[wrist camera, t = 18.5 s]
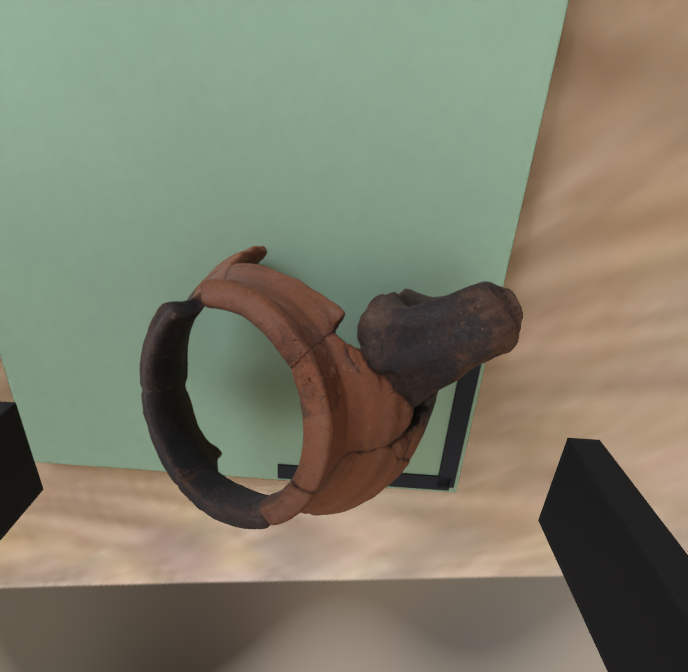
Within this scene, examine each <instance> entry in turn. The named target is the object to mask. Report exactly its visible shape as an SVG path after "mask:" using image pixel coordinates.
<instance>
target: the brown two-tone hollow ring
mask: <svg viewBox="0 0 688 672" xmlns="http://www.w3.org/2000/svg"><path fill="white" fill-rule="evenodd" d="M266 254H267V250H266V248H265V246H259V247H258V246H252V247H250V248H248V249H246V250H244V251H241V252H238V253H235V254H233V255H232V256H230V257H228V258H227V259H225V260H224V261H222V262H221V263H220V264H218V265H217V266H216V267H215V268H214V269H213V270H212V271H211V272H210V273H209V274H208V275H207V276H206V277H205V278H204V279H203V280H202V281H201V283H200V284H199V285H198V286H197V287H196V288H195V289H194V291H193V292H192V293H191V295H190V296H189V297H188V299H187V300H186V301H171V302H166V303H163V304H162V305H161V306H160V307H159V308H158V309H157V311H156V313H155V315H154V317H153V318H152V320H151V322H150V325H149V327H148V331H147V334H146V336H145V339H144V342H143V345H142V352H141V357H140V358H141V360H140V385H141V387H142V393H141V399H142V406H143V415H144V418H145V421H146V423H147V426H148V431H149V434H150V438H151V441H152V443H153V445H154V448H155V450H156V452H157V455H158V457H159V459H160V461H161V464H162V465H163V467H164V469H165V470H166V471H167V473H168V474H169V476H170V477H171V479H172V480H173V482H174V483H175V484H177V485H178V487H179V489H180V490H181V492H182V493H183V494H184V495H185V496H186V497H187V498H188V499H189V500H190V501H192V502H193V503H194V505H195V506H196V507H197V508H198V509H200V510H202V511H204V512H205V513H206V514H208V515H209V516H211V517H212V518H213V519H215V520H218V521H220V522H223V523H226V524H229V525H231V526H234V527H239V528H244V529H265V528H267V527H269V526H270V525H278V524H281V523H283V522H286V521H288V520H290V519H292V518H293V517H294V516H296V515H297V514H299V513H300V512H301V513H305V514H307V513H309V514H311V515H328V514H336V513H340V512H344V511H347V510H350V509H352V508H354V507H357V506H358V505H360V504H362V503H364V502H366V501H368V500H370V499H371V498H373V497H375V496H376V495H377V494H379V493H380V492H381V491H382V490H383V489H384V488H386V487H387V486H389V485H390V484H391V483H392V482H393V481H394V480H395V479H397V478H398V477H399V476H400V474H401V473H402V472H403V471H404V470H405V468H406V467H407V466H408V465H409V463H410V459H411V457H412V456H413V454H414V453H415V451H416V449H417V447H418V445H419V443H420V441H421V439H422V437H423V435H424V432H425V430H426V428H427V425H428V422H429V419H430V417H431V414H432V412H433V409H434V406H435V403H436V398H437V394H438V391H439V390H441V389H442V388H444V387H446V386H448V385H450V384H452V383H454V382H456V381H458V380H459V379H460V378H462V377H463V376H464V375H465V374H466V373H467V372H469V371H470V370H471V369H473V368H474V367H476V366H478V365H481V364H483V363H485V362H487V361H489V360H491V359H493V358H494V357H497V356H499V355H501V354H505V353H508V352H510V351H511V350H512V349H513V348H514V347H515V346H516V344H517V342H518V339H519V332H520V329H521V321H522V318H523V312H522V309H521V306H520V304H519V302H518V300H517V298H516V296H515V294H514V293H513V292H512V291H511V290H510V289H507V288H504V287H501V286H498V285H496V284H494V283H492V282H488V281H483V282H479V283H477V284H474V285H470V286H468V287H465V288H463V289H460V290H458V291H456V292H453V293H451V294H449V295H446V296H439V297H431V296H427V295H424V294H420V293H418V292H416V291H414V290H412V289H407V288H405V289H404V290H403V291H401V292H400V293H399V294H397V293H396V292H391V293H389V294H387V295H385V294H380V295H378V296H376V297H374V298H373V299H372V300H371V301H370V303H369V304H368V306H367V309H366V310H365V311H364V313H363V314H362V315H361V317H360V320H359V322H358V325H357V339H358V342H359V344H360V349H358V348H355V347H353V346H352V345H350V344H347V343H346V342H344V341H343V340H342V339H341V338H340V337H339V336H338V335H337V334H336V329H337V328H338V327H339V324H340V323H341V322H342V320H343V319H344V316H345V311H344V310H343V309H342V308H341V307H340V306H339V305H337V304H336V303H334V302H332V301H330V300H329V299H328V298H327V297H325V296H323V295H322V294H320V293H319V292H317V291H315V290H313V289H311V288H310V287H309V286H308V285H306V284H305V283H303V282H302V281H300V280H298V279H296V278H293V277H290V276H287V275H285V274H282V273H280V272H277V271H275V270H273V269H271V268H268V267H266V266H263V265H258V263H259V262H260V261H261V260H263V259H264V257H265V256H266ZM204 307H207V308H215V309H221V310H226V311H229V312H233V313H236V314H238V315H241V316H243V317H244V318H246V319H247V320H248V321H250V322H251V323H252V324H253V325H255V326H256V327H257V328H258V329H259V330H261V331H262V332H263V333H264V335H265V336H266V337H267V338H268V339H269V340H270V341H271V343H272V344H273V345H274V347H275V348H276V350H277V351H278V352H279V353H280V355H281V356H282V357H283V359H284V360H285V361H286V363H287V364H288V366H289V367H290V368H291V370H292V375H293V379H294V382H295V384H296V387H297V391H298V394H299V399H300V406H301V411H302V418H303V445H302V451H301V458H300V461H299V465H298V468H297V470H296V472H295V474H294V476H293V478H292V479H291V481H290V482H289V483H288V485H287V486H286V487H285V488H284V489H283V490H281V491H279V492H276V493H273V494H271V495H265V494H261V493H258V492H256V491H253V490H251V489H248V488H246V487H244V486H242V485H239V484H237V483H235V482H233V481H231V480H229V479H228V478H226V477H225V476H223V475H222V474H221V473H219V471H218V462H217V461H218V458H220V457H221V455H222V452H221V451H220V450H219V448H218V447H216V446H215V445H213V444H211V443H210V442H209V441H208V440H207V439H206V438H205V436H204V434H203V433H202V431H201V430H200V428H199V426H198V424H197V420H196V417H195V414H194V410H193V406H192V402H191V399H190V397H189V394H188V392H187V390H186V386H185V384H186V380H187V377H188V343H189V336H190V332H191V328H192V326H193V323H194V320H195V319H196V317H197V316H198V315H199V314H200V312H201V311H202V310H203V308H204Z"/></svg>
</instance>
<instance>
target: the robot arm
mask: <svg viewBox="0 0 688 672" xmlns="http://www.w3.org/2000/svg"><path fill="white" fill-rule="evenodd" d="M42 490H43V487H42V484H41V480H40V477H39V474H38V471H37V468H36V465H35V462H34V458H33V455H32V452H31V449H30V446H29V443H28V439H27V436H26V433H25V430H24V427H23V424H22V420H21V417H20V414H19V411H18V408H17V405H16V403H14V402H0V540H1V539H2V538H3V537H4V536H5V534H6V533H7V532H8V531H9V530H10V528H11V527H12V526H13V525H14V524H15V523H16V521H17V520H18V519H19V518H20V517H21V515H22V514H23V513H24V512H25V511H26V509H27V508H28V507H29V506H30V505H31V504H32V502H33V501H34V500H35V499H36V498H37V496H38V495H39V494H40V493H41V492H42ZM538 521H539V523H540V525H541V527H542V530H543V532H544V534H545V536H546V538H547V540H548V543H549V545H550V547H551V549H552V551H553V553H554V556H555V558H556V560H557V562H558V564H559V567H560V569H561V571H562V573H563V575H564V577H565V580H566V582H567V584H568V586H569V588H570V591H571V593H572V595H573V597H574V599H575V601H576V603H577V606H578V608H579V610H580V612H581V614H582V617H583V619H584V621H585V623H586V625H587V628H588V630H589V632H590V634H591V636H592V638H593V641H594V643H595V645H596V647H597V649H598V651H599V654H600V656H601V658H602V660H603V662H604V665H605V667H606V669H607V671H608V672H688V555H687V553H686V552H685V551H684V550H683V548H682V547H681V546H680V544H679V543H678V542H677V540H676V539H675V538H674V536H673V535H672V534H671V533H670V531H669V530H668V529H667V527H666V526H665V525H664V523H663V522H662V521H661V519H660V518H659V517H658V516H657V514H656V513H655V512H654V510H653V509H652V508H651V506H650V505H649V504H648V503H647V501H646V500H645V499H644V497H643V496H642V495H641V493H640V492H639V491H638V489H637V488H636V487H635V486H634V484H633V483H632V482H631V480H630V479H629V478H628V476H627V475H626V474H625V472H624V471H623V470H622V469H621V467H620V466H619V465H618V463H617V462H616V461H615V459H614V458H613V457H612V456H611V454H610V453H609V452H608V450H607V449H606V448H605V446H604V445H603V444H602V442H601V441H600V440H593V439H577V438H567V441H566V444H565V447H564V450H563V452H562V455H561V458H560V461H559V464H558V466H557V469H556V472H555V475H554V478H553V480H552V483H551V486H550V489H549V492H548V494H547V497H546V500H545V503H544V506H543V508H542V511H541V514H540V517H539V520H538Z"/></svg>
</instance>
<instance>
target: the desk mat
mask: <svg viewBox="0 0 688 672" xmlns="http://www.w3.org/2000/svg"><path fill="white" fill-rule="evenodd" d="M568 2H569V0H0V357H1V360H2V363H3V366H4V369H5V373H6V376H7V379H8V382H9V386H10V389H11V392H12V395H13V398H14V402H15V403H16V405H17V408H18V411H19V414H20V417H21V420H22V424H23V427H24V430H25V433H26V436H27V439H28V443H29V446H30V449H31V452H32V455H33V458H34V462H42V463H56V464H70V465H84V466H97V467H111V468H125V469H139V470H152V471H166V470H165V469H164V467H163V465H162V464H161V461H160V459H159V457H158V455H157V452H156V450H155V448H154V445H153V443H152V441H151V438H150V434H149V431H148V426H147V423H146V421H145V418H144V415H143V406H142V399H141V393H142V387H141V385H140V360H141V358H140V357H141V352H142V345H143V342H144V339H145V336H146V334H147V331H148V327H149V325H150V322H151V320H152V318H153V317H154V315H155V313H156V311H157V309H158V308H159V307H160V306H161V305H162V304H163V303H166V302H171V301H186V300H187V299H188V297H189V296H190V295H191V293H192V292H193V291H194V289H195V288H196V287H197V286H198V285H199V284H200V283H201V281H202V280H203V279H204V278H205V277H206V276H207V275H208V274H209V273H210V272H211V271H212V270H213V269H214V268H215V267H216V266H217V265H218V264H220V263H221V262H222V261H224V260H225V259H227V258H228V257H230V256H232V255H233V254H235V253H238V252H241V251H244V250H246V249H248V248H250V247H252V246H258V247H259V246H265V248H266V250H267V254H266V256H265V257H264V259H263V260H261V261H260V262H259V263H258V265H263V266H266V267H268V268H271V269H273V270H275V271H277V272H280V273H282V274H285V275H287V276H290V277H293V278H296V279H298V280H300V281H302V282H303V283H305V284H306V285H308V286H309V287H310V288H311V289H313V290H315V291H317V292H319V293H320V294H322V295H323V296H325V297H327V298H328V299H329V300H330V301H332V302H334V303H336V304H337V305H339V306H340V307H341V308H342V309H343V310H344V311H345V316H344V319H343V320H342V322H341V323H340V324H339V327H338V328H337V329H336V334H337V335H338V336H339V337H340V338H341V339H342V340H343V341H344V342H346V343H347V344H350V345H352V346H353V347H355V348H358V349H360V344H359V342H358V339H357V325H358V322H359V320H360V317H361V315H362V314H363V313H364V311H365V310H366V309H367V306H368V304H369V303H370V301H371V300H372V299H373V298H374V297H376V296H378V295H380V294H385V295H387V294H389V293H391V292H396V293H397V294H399V293H400V292H401V291H403V290H404V289H405V288H407V289H412V290H414V291H416V292H418V293H420V294H424V295H427V296H431V297H439V296H446V295H449V294H451V293H453V292H456V291H458V290H460V289H463V288H465V287H468V286H470V285H474V284H477V283H479V282H483V281H488V282H492V283H494V284H496V285H498V286H501V287H503V285H504V281H505V276H506V272H507V268H508V263H509V259H510V255H511V250H512V246H513V242H514V237H515V233H516V228H517V224H518V220H519V215H520V211H521V207H522V202H523V198H524V194H525V189H526V185H527V181H528V176H529V172H530V168H531V163H532V159H533V154H534V150H535V146H536V141H537V137H538V133H539V128H540V124H541V120H542V115H543V111H544V107H545V102H546V98H547V94H548V89H549V85H550V80H551V76H552V72H553V67H554V63H555V59H556V54H557V50H558V46H559V41H560V37H561V33H562V28H563V24H564V20H565V15H566V11H567V6H568ZM485 363H486V362H485ZM485 363H483V364H481V365H478V366H476V367H474V368H473V369H471V370H470V371H469V372H467V373H466V374H465V375H464V376H463V377H462V378H460V379H459V380H458V381H456V382H454V383H452V384H450V385H448V386H446V387H444V388H442V389H441V390H439V391H438V394H437V398H436V403H435V406H434V409H433V412H432V414H431V417H430V419H429V422H428V425H427V428H426V430H425V432H424V435H423V437H422V439H421V441H420V443H419V445H418V447H417V449H416V451H415V453H414V454H413V456H412V457H411V459H410V463H409V465H408V466H407V467H406V468H405V470H404V471H403V472H402V473H401V474H400V476H399V477H398V478H397V479H395V480H394V481H393V482H392V483H391V484H390V485H389V486H387V487H386V488H400V489H414V490H427V491H441V492H456V490H457V485H458V481H459V477H460V472H461V468H462V464H463V459H464V455H465V450H466V446H467V442H468V437H469V433H470V429H471V424H472V420H473V416H474V411H475V407H476V403H477V398H478V394H479V390H480V385H481V381H482V376H483V372H484V368H485ZM185 386H186V390H187V392H188V394H189V397H190V399H191V402H192V406H193V410H194V414H195V417H196V420H197V424H198V426H199V428H200V430H201V431H202V433H203V434H204V436H205V438H206V439H207V440H208V441H209V442H210V443H211V444H213V445H215V446H216V447H218V448H219V450H220V451H221V452H222V455H221V457H220V458H218V461H217V462H218V471H219V473H221V474H222V475H223V476H235V477H249V478H262V479H276V480H290V481H291V479H292V478H293V476H294V474H295V472H296V470H297V468H298V465H299V461H300V458H301V451H302V445H303V418H302V411H301V406H300V399H299V394H298V391H297V387H296V384H295V382H294V379H293V375H292V370H291V368H290V367H289V366H288V364H287V363H286V361H285V360H284V359H283V357H282V356H281V355H280V353H279V352H278V351H277V350H276V348H275V347H274V345H273V344H272V343H271V341H270V340H269V339H268V338H267V337H266V336H265V335H264V333H263V332H262V331H261V330H259V329H258V328H257V327H256V326H255V325H253V324H252V323H251V322H250V321H248V320H247V319H246V318H244V317H243V316H241V315H238V314H236V313H233V312H229V311H226V310H221V309H215V308H207V307H204V308H203V310H202V311H201V312H200V314H199V315H198V316H197V317H196V319H195V320H194V323H193V326H192V328H191V332H190V336H189V343H188V377H187V380H186V384H185ZM166 472H167V471H166Z"/></svg>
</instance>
